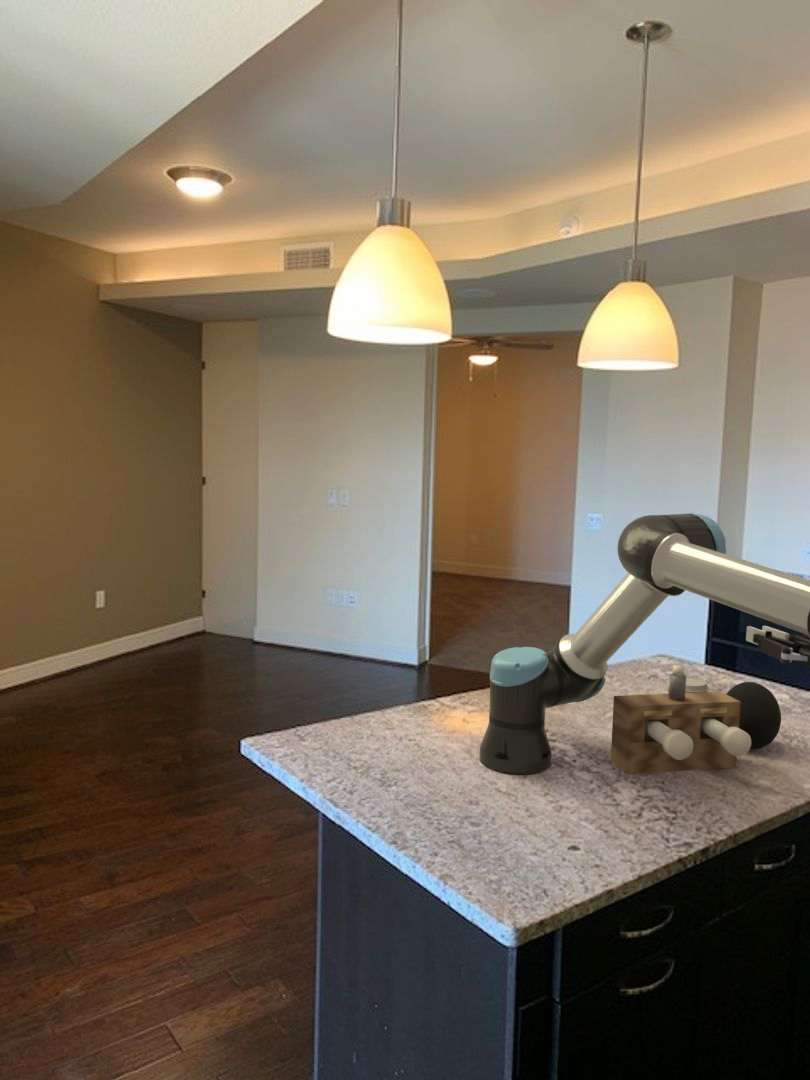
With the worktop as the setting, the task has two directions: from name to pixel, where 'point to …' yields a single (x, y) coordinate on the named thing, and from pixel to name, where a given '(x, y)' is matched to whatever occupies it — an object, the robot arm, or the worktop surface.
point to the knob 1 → (670, 739)
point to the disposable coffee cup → (693, 685)
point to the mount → (646, 754)
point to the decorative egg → (757, 713)
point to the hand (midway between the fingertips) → (756, 633)
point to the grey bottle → (677, 684)
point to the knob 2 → (727, 736)
